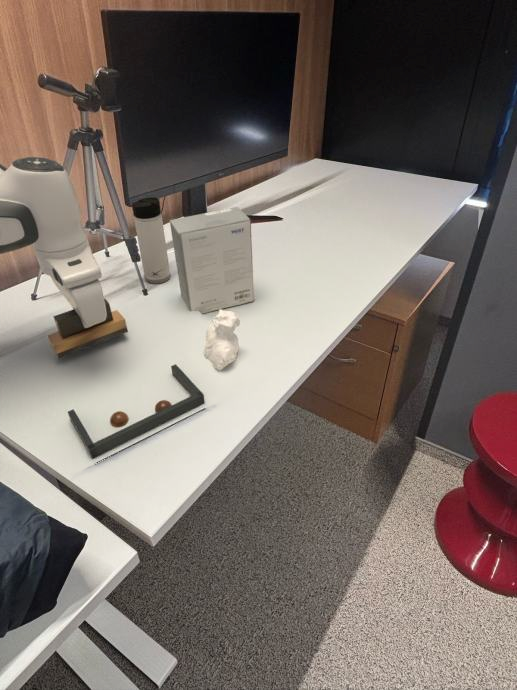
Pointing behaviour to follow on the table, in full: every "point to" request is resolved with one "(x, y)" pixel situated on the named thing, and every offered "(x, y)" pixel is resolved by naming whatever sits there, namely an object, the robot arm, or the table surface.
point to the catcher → (145, 424)
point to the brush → (84, 331)
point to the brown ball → (162, 405)
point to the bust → (222, 339)
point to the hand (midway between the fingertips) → (84, 321)
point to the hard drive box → (214, 259)
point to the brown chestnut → (119, 419)
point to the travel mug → (151, 240)
